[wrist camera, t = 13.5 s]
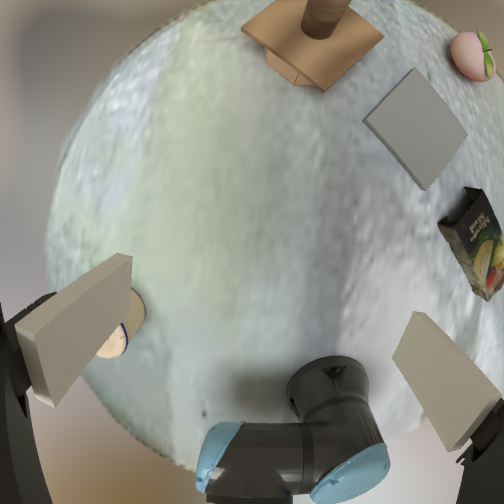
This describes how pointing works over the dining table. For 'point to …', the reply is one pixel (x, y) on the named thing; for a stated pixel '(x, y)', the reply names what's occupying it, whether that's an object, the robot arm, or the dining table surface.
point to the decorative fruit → (473, 56)
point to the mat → (417, 128)
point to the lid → (314, 37)
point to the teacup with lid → (124, 329)
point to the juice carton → (478, 245)
